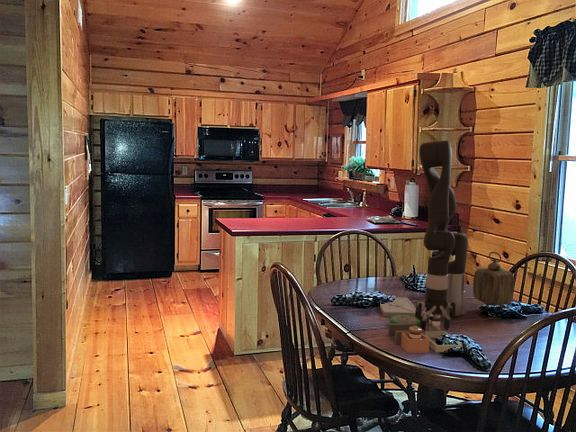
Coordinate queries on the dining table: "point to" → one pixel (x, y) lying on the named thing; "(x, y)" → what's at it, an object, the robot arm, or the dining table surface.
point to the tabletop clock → (493, 284)
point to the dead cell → (415, 332)
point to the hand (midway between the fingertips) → (434, 329)
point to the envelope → (398, 307)
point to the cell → (434, 322)
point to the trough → (439, 347)
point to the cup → (415, 344)
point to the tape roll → (404, 319)
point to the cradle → (399, 331)
